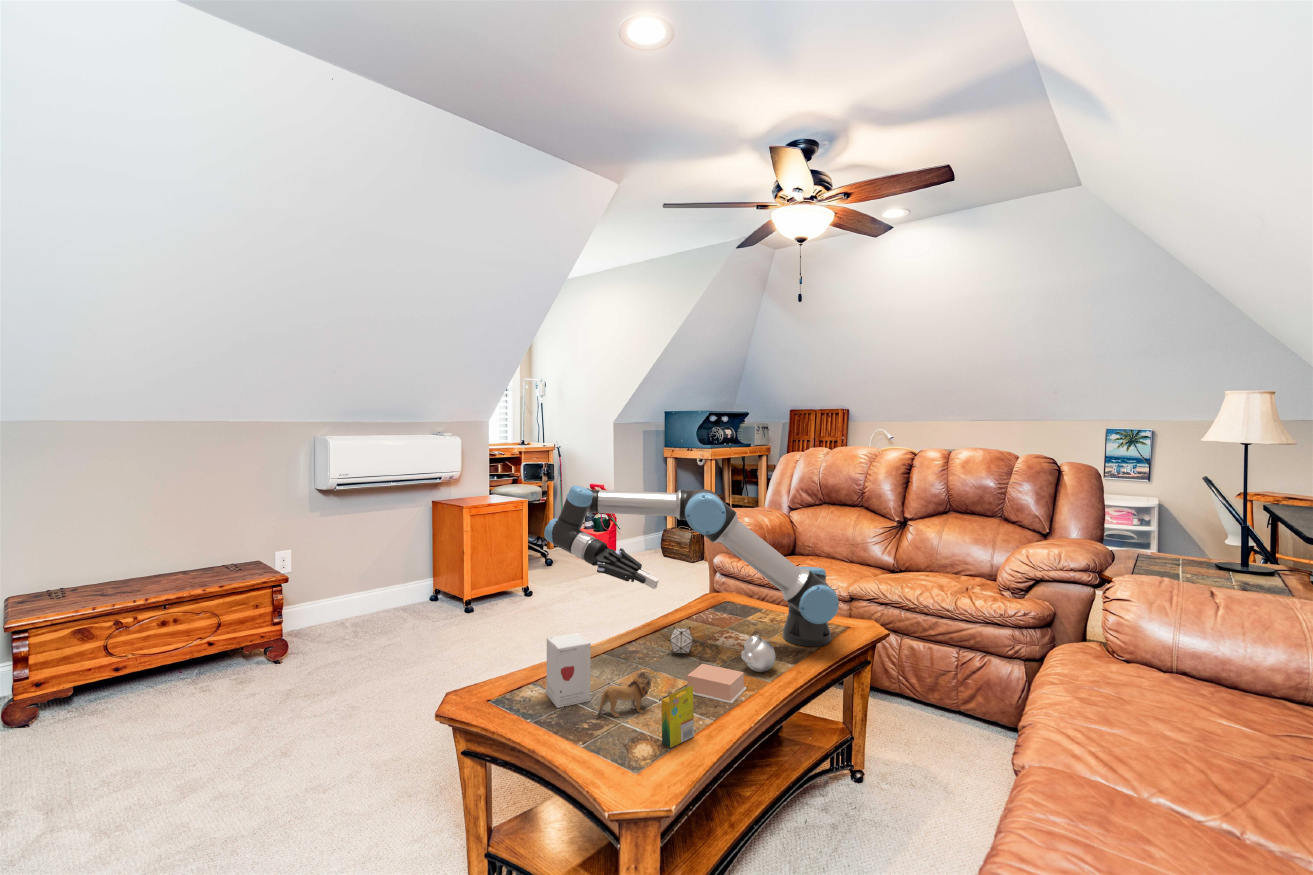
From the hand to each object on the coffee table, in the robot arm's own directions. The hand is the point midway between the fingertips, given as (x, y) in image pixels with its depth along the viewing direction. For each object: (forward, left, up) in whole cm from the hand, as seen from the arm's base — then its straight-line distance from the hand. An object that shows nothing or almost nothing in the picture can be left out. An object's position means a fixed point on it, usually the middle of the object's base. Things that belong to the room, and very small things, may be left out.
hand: (656, 584), depth 177 cm
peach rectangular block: (-10, +13, -21) cm, 27 cm away
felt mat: (-16, +16, -24) cm, 33 cm away
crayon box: (-5, +41, -24) cm, 48 cm away
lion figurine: (+8, +27, -24) cm, 37 cm away
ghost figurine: (-29, +3, -24) cm, 37 cm away
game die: (-8, -10, -24) cm, 27 cm away
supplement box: (+22, +20, -24) cm, 38 cm away
